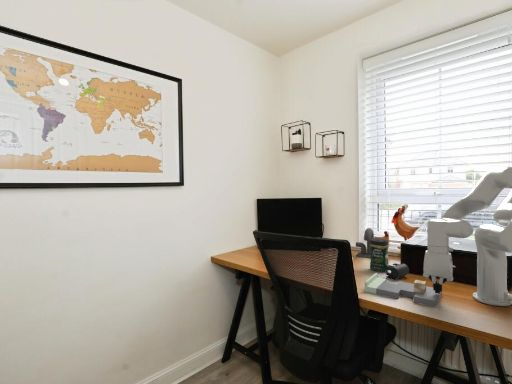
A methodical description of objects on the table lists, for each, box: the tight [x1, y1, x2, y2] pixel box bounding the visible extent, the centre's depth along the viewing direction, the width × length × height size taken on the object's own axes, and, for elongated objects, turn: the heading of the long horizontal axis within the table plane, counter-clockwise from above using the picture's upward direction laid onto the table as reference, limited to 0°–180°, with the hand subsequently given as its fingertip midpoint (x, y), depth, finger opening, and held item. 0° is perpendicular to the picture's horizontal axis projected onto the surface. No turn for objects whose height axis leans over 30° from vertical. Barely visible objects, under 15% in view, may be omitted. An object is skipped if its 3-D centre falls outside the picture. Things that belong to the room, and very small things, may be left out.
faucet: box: [355, 227, 375, 260], centre depth 188 cm, size 18×16×20 cm
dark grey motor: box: [385, 263, 410, 281], centre depth 150 cm, size 10×7×7 cm
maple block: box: [413, 279, 427, 294], centre depth 124 cm, size 4×4×4 cm
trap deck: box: [364, 272, 443, 308], centre depth 129 cm, size 28×16×4 cm, turn 51°
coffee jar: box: [369, 236, 390, 273], centre depth 162 cm, size 10×8×19 cm
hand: (437, 292), depth 120 cm, fingers closed
